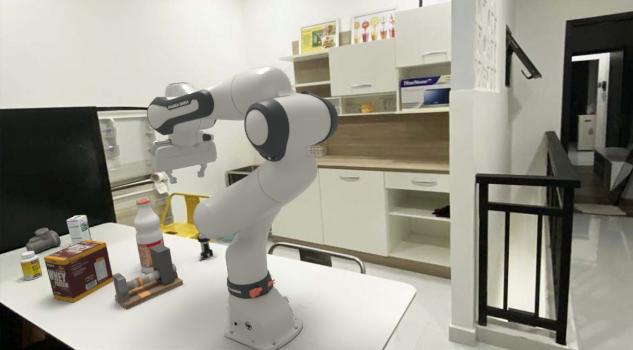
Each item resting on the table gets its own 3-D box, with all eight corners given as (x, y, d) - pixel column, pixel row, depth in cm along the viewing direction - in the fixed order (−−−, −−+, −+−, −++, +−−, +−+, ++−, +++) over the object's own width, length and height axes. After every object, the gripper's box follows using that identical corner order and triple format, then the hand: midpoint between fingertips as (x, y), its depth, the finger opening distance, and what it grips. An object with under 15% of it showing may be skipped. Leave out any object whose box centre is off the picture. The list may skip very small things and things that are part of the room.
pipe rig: (183, 284, 124) (179, 259, 122) (126, 309, 111) (121, 282, 109) (170, 276, 131) (166, 252, 129) (115, 299, 117) (110, 273, 115)
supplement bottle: (35, 280, 135) (29, 255, 133) (21, 281, 135) (14, 256, 133) (46, 273, 140) (40, 249, 138) (32, 274, 140) (25, 250, 138)
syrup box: (85, 248, 164) (78, 218, 161) (72, 248, 164) (66, 219, 161) (92, 243, 169) (86, 214, 166) (80, 243, 169) (74, 215, 166)
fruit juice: (149, 262, 143) (138, 197, 137) (172, 262, 143) (161, 196, 137) (137, 274, 134) (123, 204, 128) (160, 273, 134) (148, 203, 128)
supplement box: (53, 298, 120) (42, 256, 117) (95, 277, 134) (86, 239, 131) (73, 303, 117) (63, 260, 113) (114, 280, 130) (106, 241, 127)
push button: (203, 262, 141) (200, 239, 138) (194, 259, 143) (191, 237, 141) (216, 255, 146) (213, 233, 144) (207, 253, 149) (204, 231, 147)
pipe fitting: (54, 242, 172) (48, 224, 169) (63, 246, 168) (57, 227, 165) (26, 255, 162) (19, 235, 159) (35, 259, 159) (28, 239, 155)
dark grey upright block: (175, 280, 123) (169, 248, 121) (163, 285, 120) (158, 252, 118) (166, 274, 128) (160, 243, 125) (155, 279, 125) (149, 247, 123)
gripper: (154, 143, 98) (159, 189, 102) (218, 134, 112) (220, 175, 116) (144, 140, 102) (150, 185, 106) (207, 132, 116) (210, 171, 120)
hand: (187, 180), depth 111 cm, fingers open, 8 cm apart
